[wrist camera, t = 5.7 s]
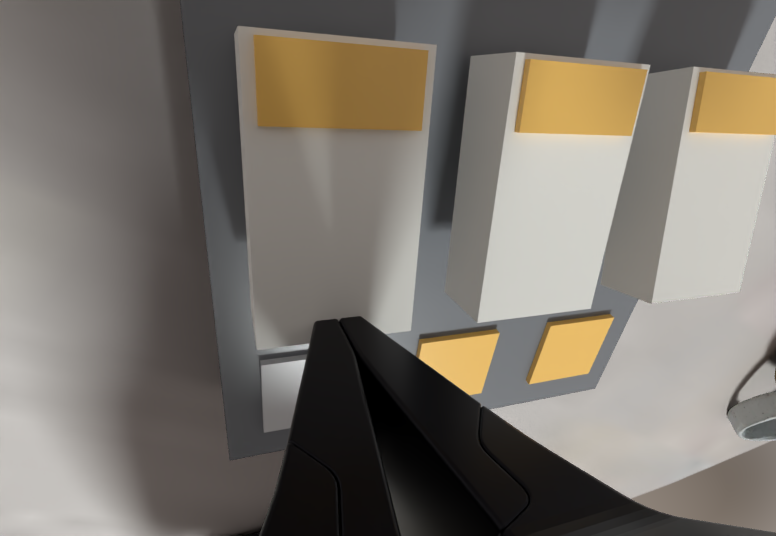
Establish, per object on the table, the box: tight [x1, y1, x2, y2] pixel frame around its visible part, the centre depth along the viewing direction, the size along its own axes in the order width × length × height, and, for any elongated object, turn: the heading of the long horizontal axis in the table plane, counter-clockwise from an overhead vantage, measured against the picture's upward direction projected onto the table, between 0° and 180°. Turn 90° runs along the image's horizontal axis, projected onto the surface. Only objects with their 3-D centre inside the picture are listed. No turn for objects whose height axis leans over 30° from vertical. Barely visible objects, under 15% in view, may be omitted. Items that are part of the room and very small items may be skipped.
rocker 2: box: [445, 52, 650, 323], centre depth 10 cm, size 5×3×2 cm, turn 173°
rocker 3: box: [601, 67, 776, 304], centre depth 11 cm, size 5×3×2 cm, turn 173°
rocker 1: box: [234, 26, 437, 350], centre depth 8 cm, size 5×3×2 cm, turn 173°
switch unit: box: [180, 0, 776, 460], centre depth 13 cm, size 14×14×3 cm
